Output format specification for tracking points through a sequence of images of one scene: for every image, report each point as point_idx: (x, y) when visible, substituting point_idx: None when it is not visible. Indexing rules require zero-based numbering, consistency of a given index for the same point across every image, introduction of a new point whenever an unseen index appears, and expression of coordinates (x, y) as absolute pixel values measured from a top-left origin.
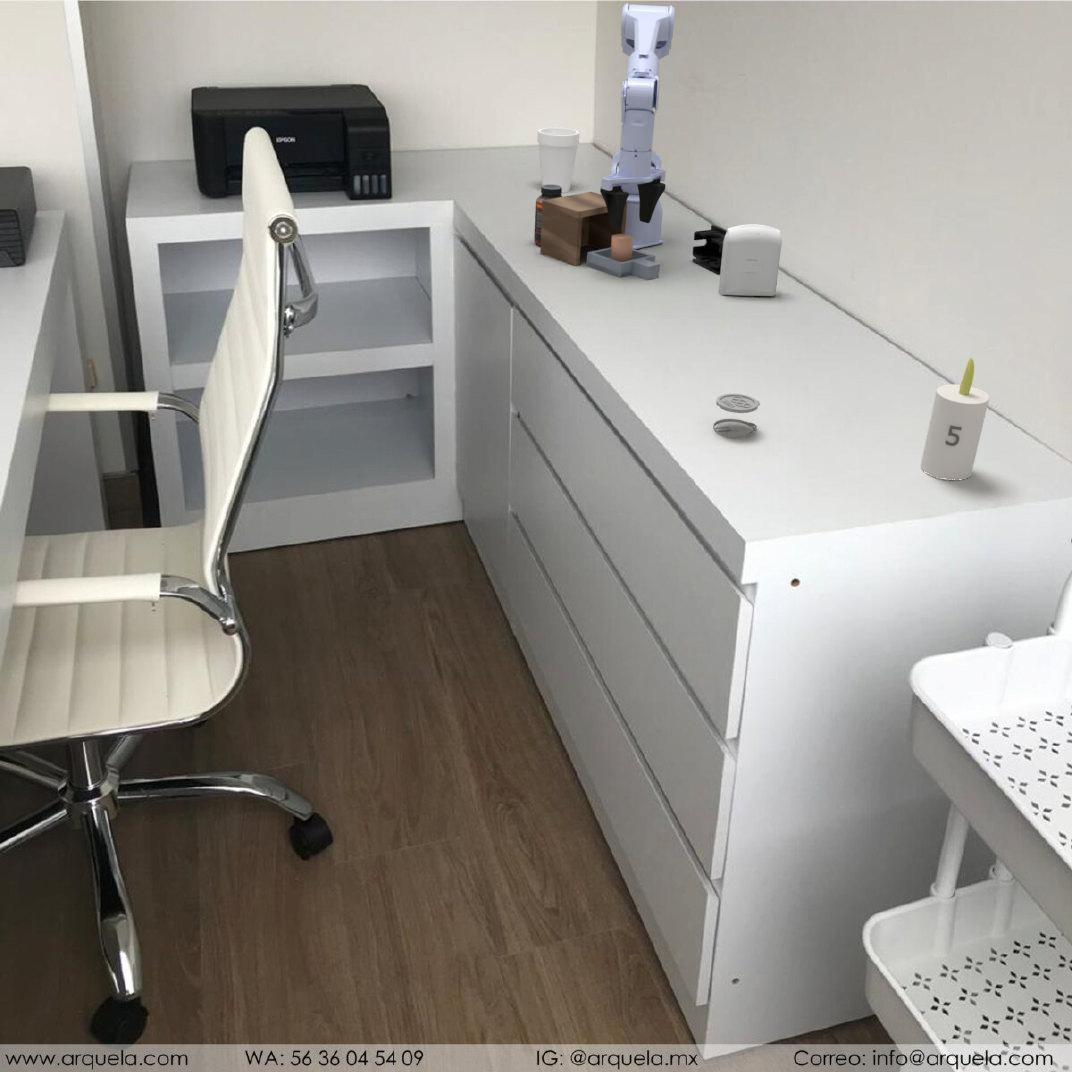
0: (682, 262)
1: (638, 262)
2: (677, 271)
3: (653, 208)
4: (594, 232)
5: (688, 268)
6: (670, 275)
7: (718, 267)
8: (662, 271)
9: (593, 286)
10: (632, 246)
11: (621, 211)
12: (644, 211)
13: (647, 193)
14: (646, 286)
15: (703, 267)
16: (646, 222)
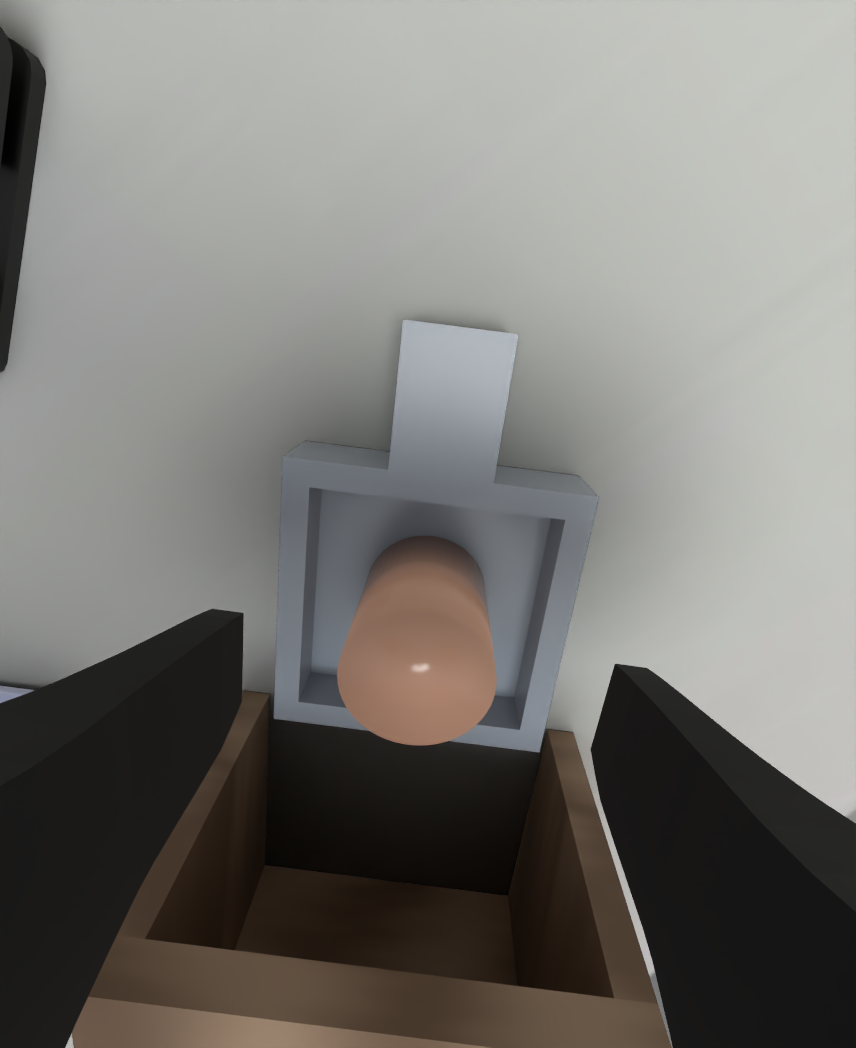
0: (63, 409)
1: (485, 443)
2: (221, 316)
3: (119, 668)
4: (240, 903)
5: (117, 307)
6: (320, 294)
7: (2, 42)
8: (296, 381)
9: (825, 477)
10: (384, 588)
11: (762, 783)
12: (192, 731)
13: (26, 938)
14: (620, 255)
15: (22, 245)
16: (242, 628)
